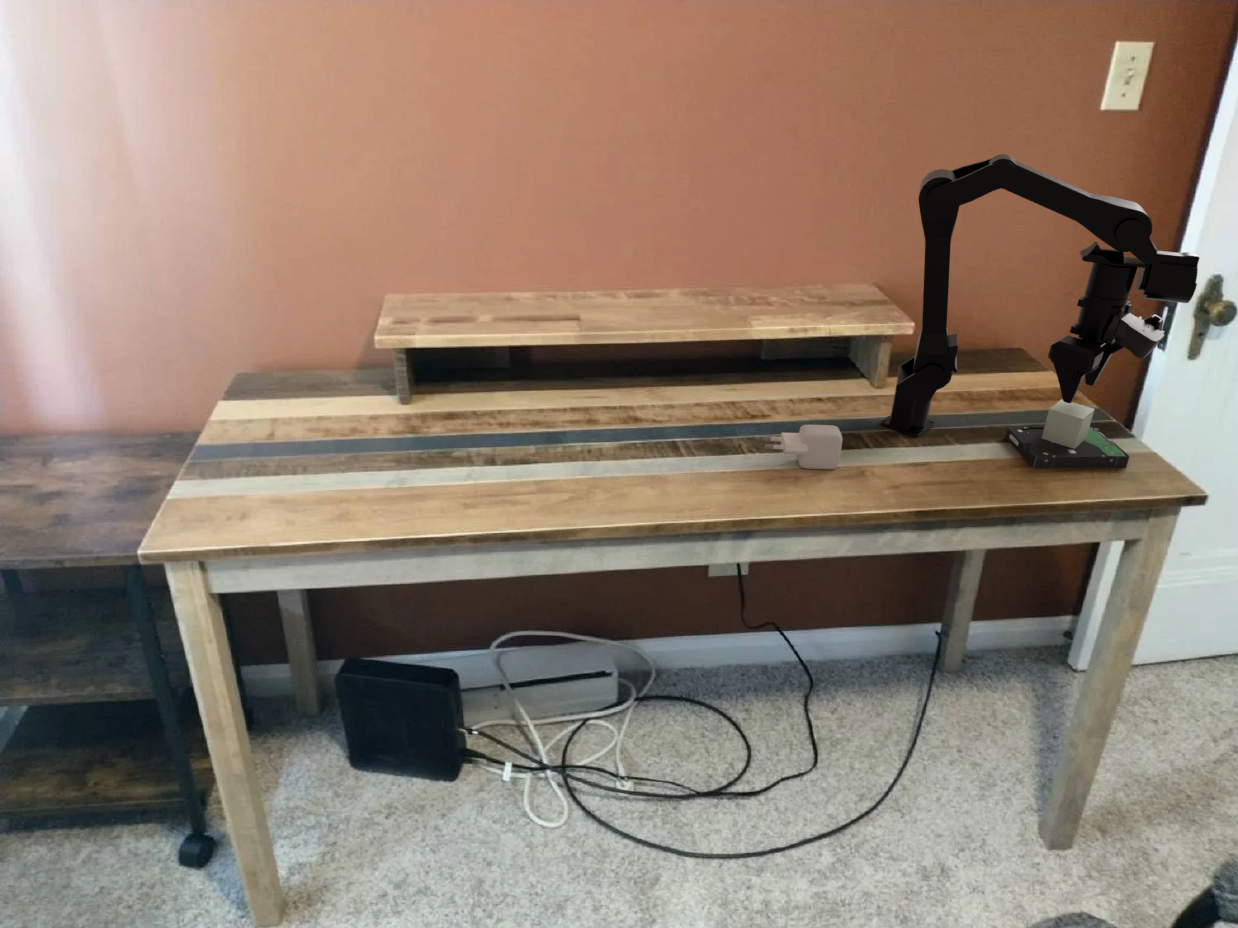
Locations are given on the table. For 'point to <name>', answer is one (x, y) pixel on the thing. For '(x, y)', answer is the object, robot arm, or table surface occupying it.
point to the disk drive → (1066, 450)
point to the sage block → (1067, 423)
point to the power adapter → (811, 446)
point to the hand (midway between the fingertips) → (1078, 393)
